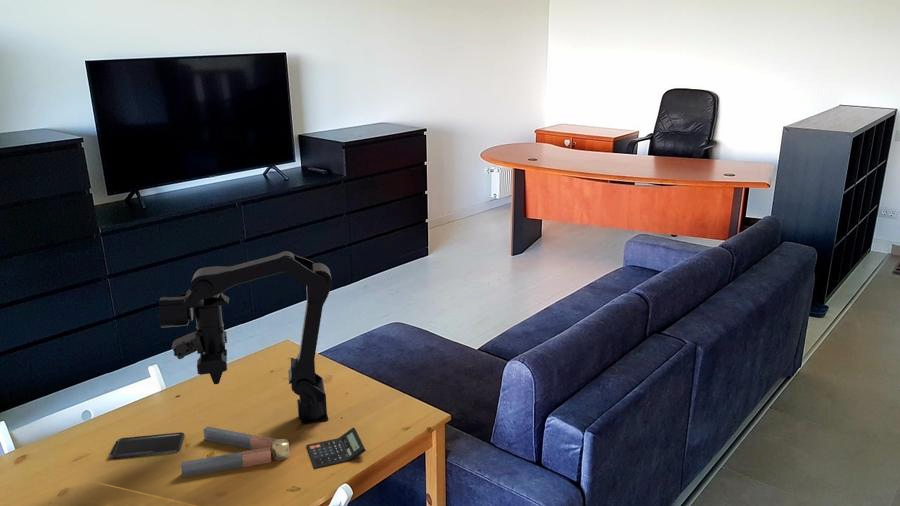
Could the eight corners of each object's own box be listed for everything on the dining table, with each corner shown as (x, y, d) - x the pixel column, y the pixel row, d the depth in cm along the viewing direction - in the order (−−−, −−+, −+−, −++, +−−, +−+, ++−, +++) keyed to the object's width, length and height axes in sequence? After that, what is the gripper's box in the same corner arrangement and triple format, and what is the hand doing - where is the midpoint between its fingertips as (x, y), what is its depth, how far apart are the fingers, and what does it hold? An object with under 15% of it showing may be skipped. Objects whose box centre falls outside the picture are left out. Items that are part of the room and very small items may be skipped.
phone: (117, 438, 156) (185, 431, 159) (118, 442, 157) (185, 435, 159) (107, 458, 149) (179, 450, 152) (108, 462, 149) (179, 454, 152)
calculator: (306, 448, 155) (306, 436, 154) (355, 437, 159) (355, 426, 158) (314, 470, 146) (313, 459, 146) (366, 459, 151) (365, 447, 150)
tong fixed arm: (271, 458, 150) (270, 447, 149) (271, 462, 149) (270, 451, 148) (182, 473, 145) (181, 461, 144) (182, 478, 143) (180, 466, 142)
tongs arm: (292, 452, 152) (291, 440, 151) (284, 461, 149) (283, 449, 148) (208, 436, 158) (207, 424, 157) (199, 444, 155) (197, 432, 154)
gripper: (174, 312, 160) (182, 370, 165) (168, 343, 143) (177, 408, 148) (223, 306, 163) (229, 364, 168) (223, 337, 146) (230, 400, 151)
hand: (216, 383), depth 159 cm, fingers closed
